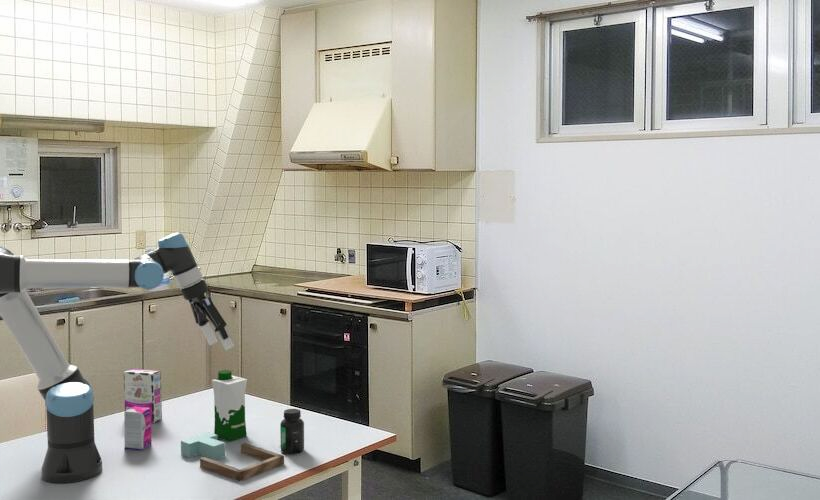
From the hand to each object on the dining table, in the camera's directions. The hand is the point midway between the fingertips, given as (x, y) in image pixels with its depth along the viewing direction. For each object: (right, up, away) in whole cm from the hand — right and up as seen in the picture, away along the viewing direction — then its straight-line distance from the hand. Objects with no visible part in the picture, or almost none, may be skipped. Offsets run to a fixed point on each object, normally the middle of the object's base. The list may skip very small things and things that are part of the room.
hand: (221, 345), depth 243 cm
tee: (-2, -30, -10) cm, 32 cm away
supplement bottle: (+23, -30, -7) cm, 38 cm away
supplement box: (-23, -30, -5) cm, 38 cm away
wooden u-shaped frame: (+10, -31, -19) cm, 38 cm away
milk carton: (+2, -29, +5) cm, 29 cm away
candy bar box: (-30, -27, +20) cm, 45 cm away
